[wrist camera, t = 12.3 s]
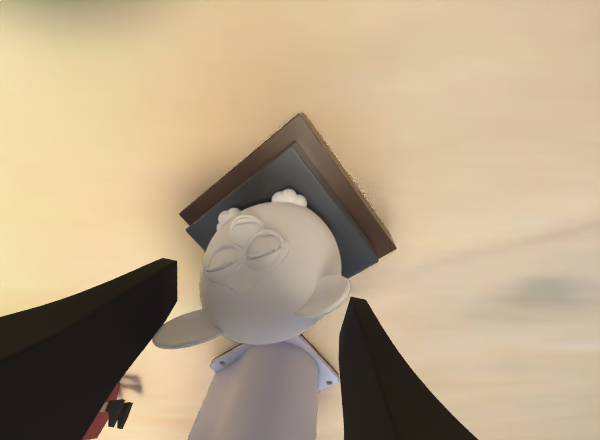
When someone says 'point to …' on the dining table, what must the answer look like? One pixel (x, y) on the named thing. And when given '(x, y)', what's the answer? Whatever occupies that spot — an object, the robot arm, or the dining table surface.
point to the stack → (304, 181)
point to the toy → (110, 415)
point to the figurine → (263, 277)
